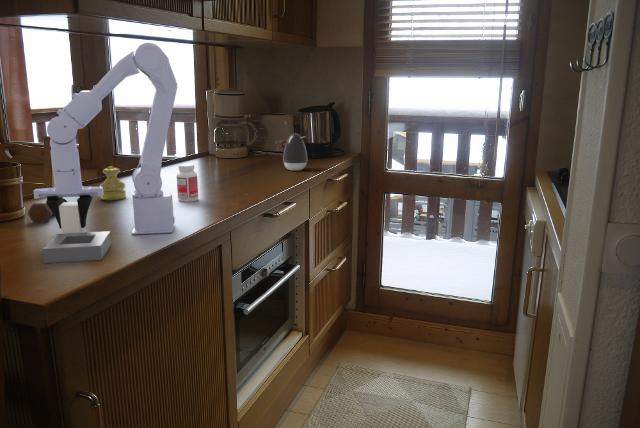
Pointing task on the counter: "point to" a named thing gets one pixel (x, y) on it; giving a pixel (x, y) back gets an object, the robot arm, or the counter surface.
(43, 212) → the bolt
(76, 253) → the socket block
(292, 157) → the pump dispenser
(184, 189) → the pill bottle
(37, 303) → the counter surface
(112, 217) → the counter surface
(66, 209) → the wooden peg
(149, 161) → the robot arm
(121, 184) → the yellow chess piece
